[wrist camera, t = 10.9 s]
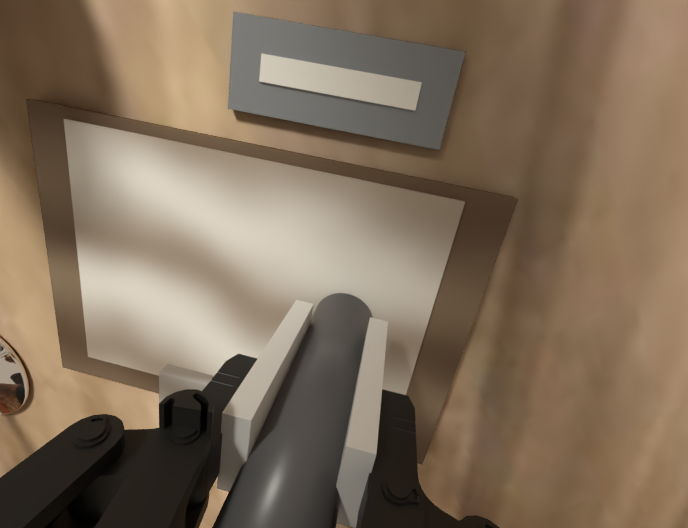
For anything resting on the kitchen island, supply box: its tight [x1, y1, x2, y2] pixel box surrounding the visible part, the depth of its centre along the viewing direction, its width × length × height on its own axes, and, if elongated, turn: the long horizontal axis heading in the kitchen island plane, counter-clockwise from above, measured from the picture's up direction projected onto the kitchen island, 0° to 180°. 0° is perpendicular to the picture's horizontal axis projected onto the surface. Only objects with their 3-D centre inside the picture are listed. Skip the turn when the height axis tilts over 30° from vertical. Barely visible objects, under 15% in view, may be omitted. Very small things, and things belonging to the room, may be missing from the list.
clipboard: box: [26, 99, 518, 464], centre depth 18 cm, size 15×22×2 cm
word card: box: [228, 12, 465, 150], centre depth 14 cm, size 4×9×1 cm, turn 79°
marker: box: [212, 293, 372, 528], centre depth 11 cm, size 3×3×13 cm
